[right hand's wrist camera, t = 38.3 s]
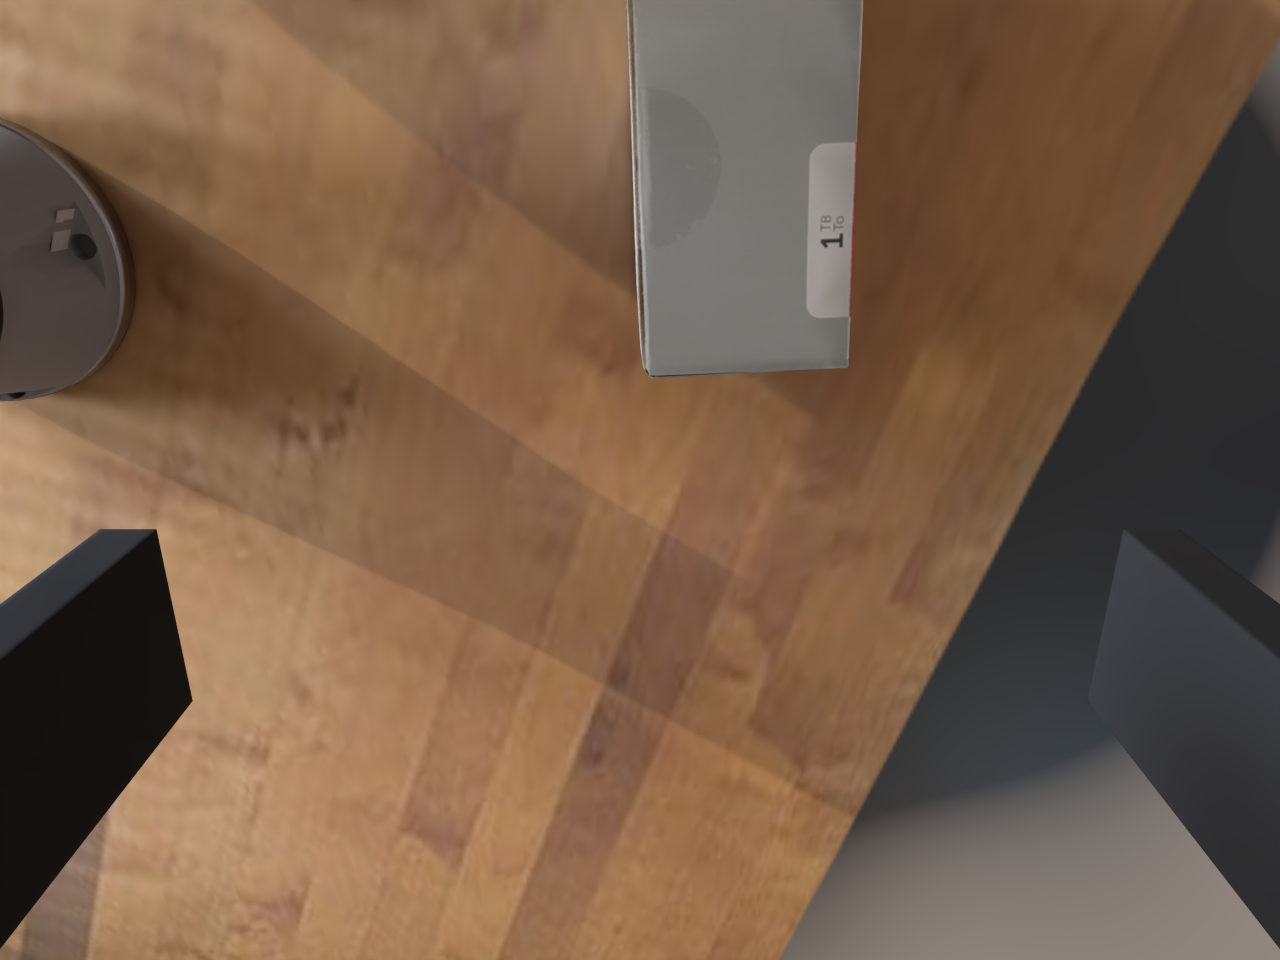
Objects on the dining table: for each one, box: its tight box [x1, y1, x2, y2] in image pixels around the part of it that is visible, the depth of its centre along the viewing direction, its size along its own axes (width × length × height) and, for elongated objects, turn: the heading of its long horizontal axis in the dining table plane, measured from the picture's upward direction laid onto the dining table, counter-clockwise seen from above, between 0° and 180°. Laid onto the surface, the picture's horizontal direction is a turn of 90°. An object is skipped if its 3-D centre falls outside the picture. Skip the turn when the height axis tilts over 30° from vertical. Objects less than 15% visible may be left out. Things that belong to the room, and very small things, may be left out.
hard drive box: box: [627, 0, 863, 378], centre depth 39 cm, size 16×8×20 cm, turn 2°
